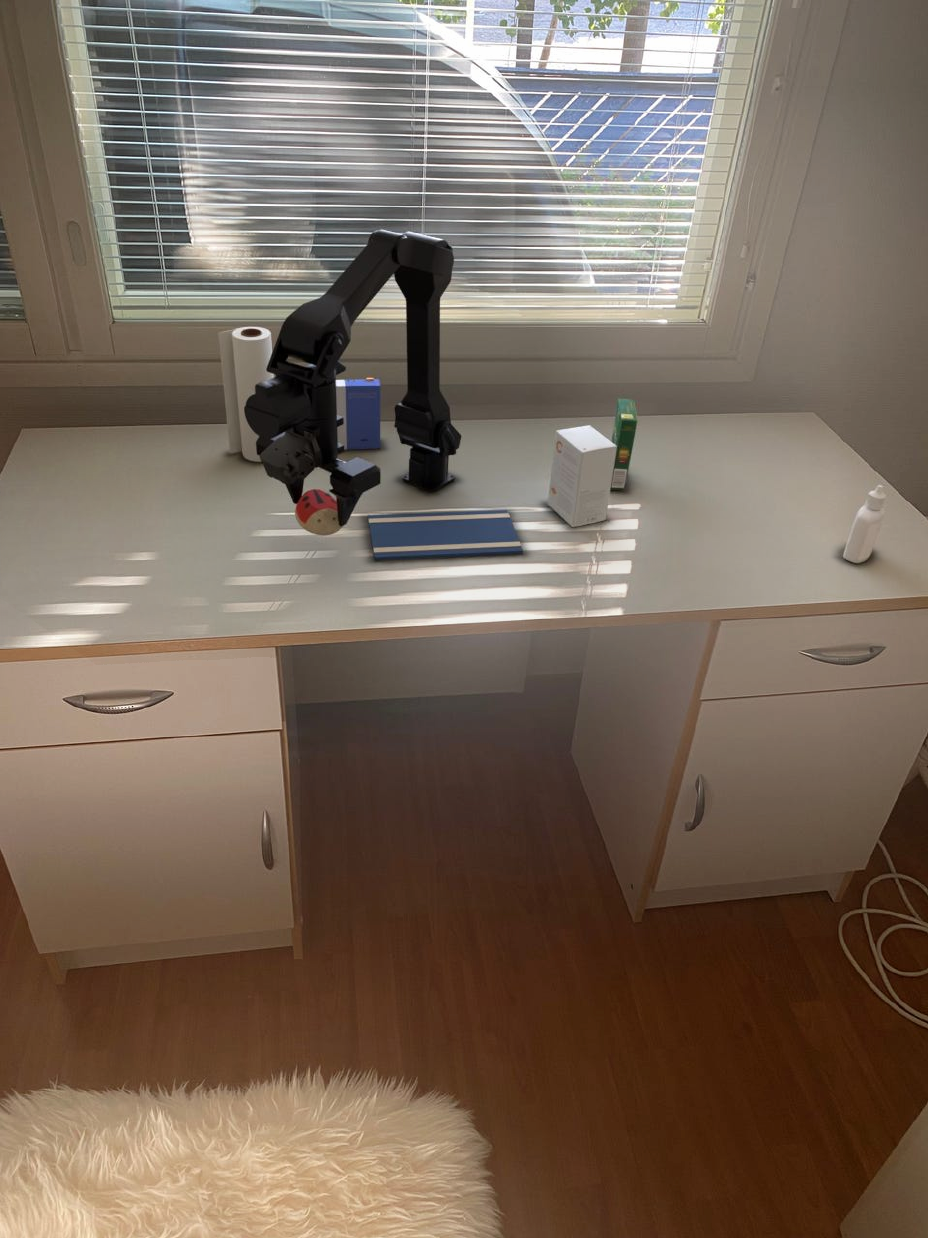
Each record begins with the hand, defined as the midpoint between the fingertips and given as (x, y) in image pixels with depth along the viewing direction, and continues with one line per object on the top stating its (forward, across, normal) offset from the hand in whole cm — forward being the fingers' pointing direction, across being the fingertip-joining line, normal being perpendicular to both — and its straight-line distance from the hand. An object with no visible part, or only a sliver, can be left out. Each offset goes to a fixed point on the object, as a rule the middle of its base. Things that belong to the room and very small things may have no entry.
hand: (319, 513), depth 137 cm
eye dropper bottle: (+7, +60, +55) cm, 82 cm away
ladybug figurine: (+1, 0, 0) cm, 1 cm away
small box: (+7, +21, +36) cm, 42 cm away
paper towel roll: (+7, -30, +15) cm, 34 cm away
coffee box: (+7, +20, +50) cm, 54 cm away
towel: (+7, +10, +16) cm, 20 cm away
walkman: (+7, -20, +29) cm, 36 cm away
